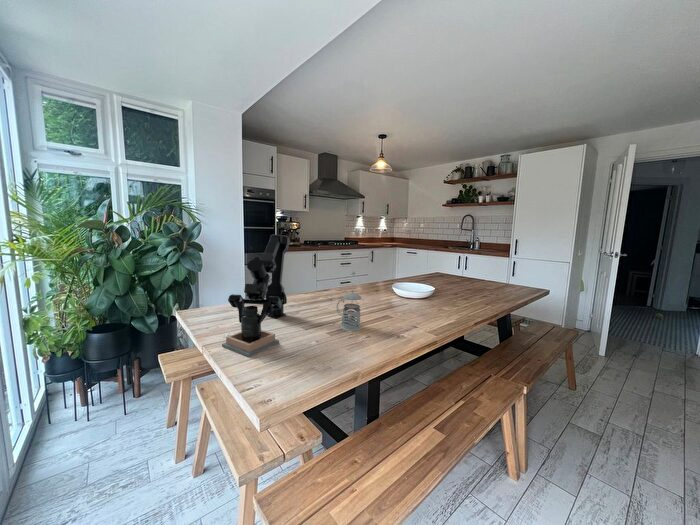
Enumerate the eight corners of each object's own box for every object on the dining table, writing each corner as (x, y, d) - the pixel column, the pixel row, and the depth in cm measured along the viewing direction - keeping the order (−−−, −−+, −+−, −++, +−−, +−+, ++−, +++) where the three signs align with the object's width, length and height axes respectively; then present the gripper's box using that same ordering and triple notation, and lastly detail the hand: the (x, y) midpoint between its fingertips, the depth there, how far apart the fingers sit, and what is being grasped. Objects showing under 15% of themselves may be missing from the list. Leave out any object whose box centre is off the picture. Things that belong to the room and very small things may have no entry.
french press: (360, 332, 120) (362, 274, 117) (333, 329, 122) (335, 272, 119) (363, 324, 130) (366, 270, 126) (339, 321, 132) (340, 268, 129)
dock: (253, 334, 114) (253, 325, 113) (278, 342, 107) (278, 333, 106) (222, 346, 102) (221, 337, 101) (248, 357, 95) (248, 347, 94)
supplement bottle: (265, 338, 105) (264, 307, 103) (247, 344, 99) (246, 311, 98) (254, 333, 109) (254, 303, 107) (238, 339, 104) (236, 307, 102)
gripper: (229, 273, 105) (215, 311, 96) (279, 275, 104) (270, 314, 95) (238, 288, 114) (226, 325, 105) (284, 290, 113) (277, 327, 104)
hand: (249, 322), depth 102 cm, fingers closed on supplement bottle, 7 cm apart
